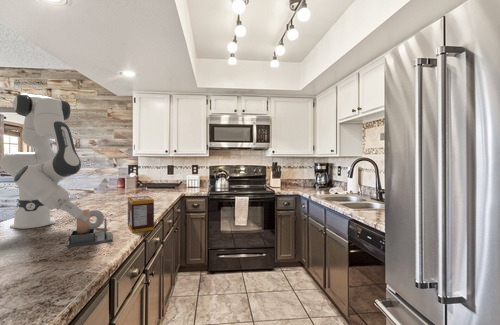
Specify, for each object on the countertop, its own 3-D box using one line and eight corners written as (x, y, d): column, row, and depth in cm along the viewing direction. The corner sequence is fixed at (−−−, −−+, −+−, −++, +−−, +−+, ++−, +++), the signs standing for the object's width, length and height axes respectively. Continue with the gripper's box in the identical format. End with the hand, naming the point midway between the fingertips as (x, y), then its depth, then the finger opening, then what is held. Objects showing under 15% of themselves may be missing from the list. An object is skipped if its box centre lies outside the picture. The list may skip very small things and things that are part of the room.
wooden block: (77, 231, 114) (77, 209, 114) (90, 229, 116) (89, 208, 116) (76, 234, 110) (75, 211, 110) (89, 232, 112) (89, 210, 112)
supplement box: (148, 223, 144) (147, 195, 144) (154, 230, 131) (154, 199, 131) (127, 226, 139) (127, 196, 138) (131, 233, 126) (131, 200, 125)
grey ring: (81, 231, 128) (81, 211, 128) (80, 230, 131) (80, 210, 130) (104, 228, 134) (104, 208, 134) (103, 226, 137) (103, 207, 137)
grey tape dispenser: (70, 238, 116) (70, 220, 116) (111, 233, 124) (111, 217, 124) (67, 247, 105) (67, 227, 105) (112, 241, 113) (112, 223, 113)
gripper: (68, 195, 101) (97, 216, 107) (59, 190, 115) (85, 209, 122) (54, 208, 97) (84, 229, 104) (46, 201, 112) (73, 220, 119)
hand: (84, 218), depth 113 cm, fingers closed on wooden block, 5 cm apart
